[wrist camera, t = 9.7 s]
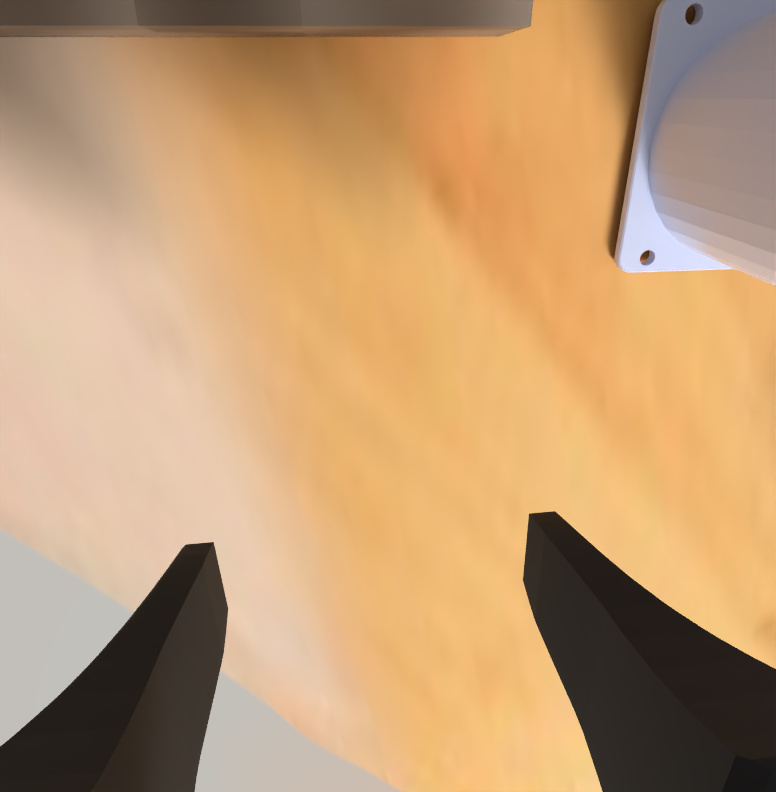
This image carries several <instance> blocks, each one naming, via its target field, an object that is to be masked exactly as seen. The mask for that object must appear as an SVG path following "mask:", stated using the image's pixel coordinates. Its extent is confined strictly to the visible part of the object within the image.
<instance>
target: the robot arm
mask: <svg viewBox="0 0 776 792" xmlns="http://www.w3.org/2000/svg"><path fill="white" fill-rule="evenodd" d="M690 6H693V7H694V9H695V18H694V21H693V22H692V23H691V24H688V23H687V21H686V20H685V14H686V11H687V9H688V8H689V7H690ZM647 250H649V257H648V259H647V260H646V261H645V262H642V263H640V257H641V254H642V253H643V252H645V251H647ZM615 263H616V265H617V267H619V268H620V269H621V270H623V271H625V272H660V271H689V270H718V269H737V270H739V271H741V272H744V273H746V274H748V275H751V276H753V277H755V278H758V279H760V280H762V281H765V282H767V283H769V284H772V285H774V286H776V0H663V1H662V2H661V3H660V5H659V6H658V7H657V10H656V13H655V17H654V23H653V29H652V35H651V41H650V47H649V53H648V59H647V65H646V71H645V77H644V83H643V89H642V95H641V101H640V107H639V113H638V119H637V125H636V131H635V137H634V143H633V149H632V155H631V161H630V167H629V173H628V179H627V185H626V191H625V197H624V203H623V209H622V215H621V221H620V227H619V233H618V239H617V245H616V251H615ZM523 582H524V585H525V589H526V592H527V596H528V599H529V602H530V606H531V609H532V612H533V615H534V618H535V621H536V624H537V626H538V629H539V631H540V633H541V636H542V638H543V640H544V642H545V645H546V647H547V649H548V652H549V654H550V656H551V658H552V661H553V663H554V665H555V667H556V670H557V672H558V674H559V676H560V679H561V681H562V683H563V685H564V688H565V690H566V692H567V695H568V697H569V699H570V701H571V704H572V706H573V708H574V710H575V713H576V715H577V718H578V720H579V723H580V725H581V728H582V730H583V733H584V736H585V739H586V742H587V745H588V748H589V751H590V754H591V757H592V760H593V763H594V766H595V769H596V772H597V775H598V778H599V781H600V784H601V788H602V791H603V792H776V669H774V668H772V667H770V666H769V665H767V664H765V663H763V662H761V661H759V660H757V659H755V658H753V657H751V656H749V655H748V654H746V653H744V652H742V651H740V650H739V649H737V648H735V647H733V646H732V645H730V644H728V643H726V642H724V641H723V640H721V639H719V638H718V637H716V636H714V635H713V634H711V633H709V632H708V631H706V630H704V629H703V628H701V627H700V626H698V625H697V624H695V623H693V622H692V621H690V620H689V619H687V618H686V617H684V616H683V615H681V614H680V613H678V612H677V611H675V610H674V609H672V608H671V607H669V606H668V605H667V604H665V603H664V602H662V601H661V600H659V599H658V598H657V597H656V596H654V595H653V594H652V593H650V592H649V591H648V590H646V589H645V588H644V587H642V586H641V585H640V584H638V583H637V582H636V581H634V580H633V579H632V578H631V577H629V576H628V575H627V574H626V573H624V572H623V571H622V570H621V569H620V568H618V567H617V566H616V565H615V564H614V563H612V562H611V561H610V560H609V559H608V558H607V557H605V556H604V555H603V554H602V553H601V552H600V551H598V550H597V549H596V548H595V547H594V546H593V545H592V544H591V543H589V542H588V541H587V540H586V539H585V538H584V537H583V536H582V535H581V534H579V533H578V532H577V531H576V530H575V529H574V528H573V527H572V526H571V525H570V524H568V523H567V522H566V521H565V520H564V519H563V518H562V517H561V516H560V515H558V514H557V513H556V512H543V513H532V514H529V521H528V532H527V543H526V554H525V565H524V576H523ZM227 615H228V606H227V602H226V597H225V593H224V588H223V583H222V579H221V574H220V570H219V565H218V560H217V556H216V551H215V547H214V542H211V543H200V544H188V545H185V546H184V547H183V548H182V549H181V551H180V552H179V554H178V555H177V556H176V558H175V559H174V561H173V562H172V563H171V565H170V566H169V567H168V569H167V570H166V572H165V573H164V574H163V576H162V577H161V578H160V580H159V581H158V582H157V584H156V585H155V587H154V588H153V589H152V591H151V592H150V593H149V594H148V596H147V597H146V598H145V600H144V601H143V602H142V603H141V605H140V606H139V607H138V608H137V610H136V611H135V612H134V614H133V615H132V616H131V617H130V619H129V620H128V621H127V622H126V624H125V625H124V626H123V627H122V628H121V630H120V631H119V632H118V633H117V634H116V635H115V636H114V637H113V639H112V640H111V641H110V642H109V643H108V644H107V646H106V647H105V648H104V649H103V650H102V651H101V653H100V654H99V655H98V656H97V657H96V658H95V659H94V660H93V661H92V663H90V665H89V666H88V667H87V668H86V669H85V670H84V671H83V672H82V673H81V674H80V675H79V676H78V677H77V678H76V679H75V680H74V681H73V682H72V683H71V684H70V685H69V686H68V687H67V688H66V689H65V690H64V691H63V692H62V693H61V694H60V695H59V696H58V697H57V698H56V699H55V700H54V701H52V702H51V703H50V704H49V705H48V706H47V707H46V708H45V709H43V711H41V712H40V713H39V714H38V715H37V716H36V717H34V718H33V719H32V720H31V721H30V722H29V723H28V724H27V725H25V726H24V727H23V728H22V729H21V730H20V731H19V732H17V733H16V734H15V735H14V736H13V737H12V738H10V739H9V740H8V741H7V742H5V743H4V744H3V745H2V746H0V792H194V790H195V783H196V776H197V771H198V765H199V760H200V755H201V750H202V746H203V742H204V737H205V733H206V729H207V724H208V720H209V715H210V711H211V707H212V702H213V698H214V694H215V689H216V685H217V680H218V676H219V671H220V667H221V662H222V658H223V653H224V644H225V636H226V626H227Z"/></svg>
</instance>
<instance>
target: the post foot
mask: <svg viewBox="0 0 776 792" xmlns="http://www.w3.org/2000/svg"><path fill="white" fill-rule="evenodd" d="M532 6H533V0H0V37H171V36H502V35H505V34H508V33H511V32H514V31H517V30H520V29H523V28H527V27H530V26H531V18H532Z"/></svg>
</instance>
